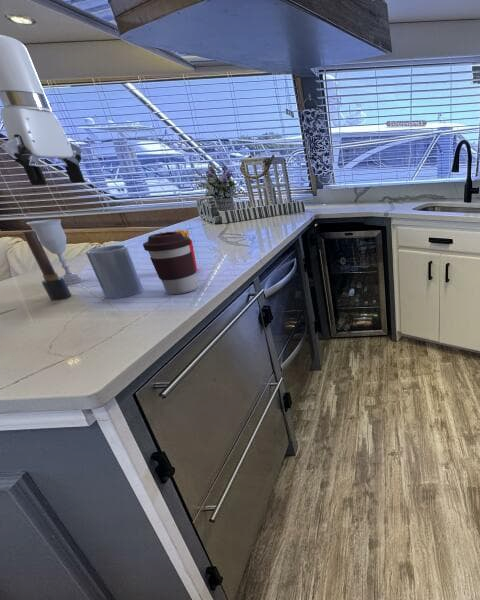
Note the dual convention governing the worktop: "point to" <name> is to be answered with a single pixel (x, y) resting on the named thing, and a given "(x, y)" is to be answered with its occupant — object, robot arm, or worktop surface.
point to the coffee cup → (172, 261)
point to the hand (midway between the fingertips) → (60, 183)
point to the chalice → (55, 244)
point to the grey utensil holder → (115, 271)
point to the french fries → (189, 245)
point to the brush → (46, 268)
